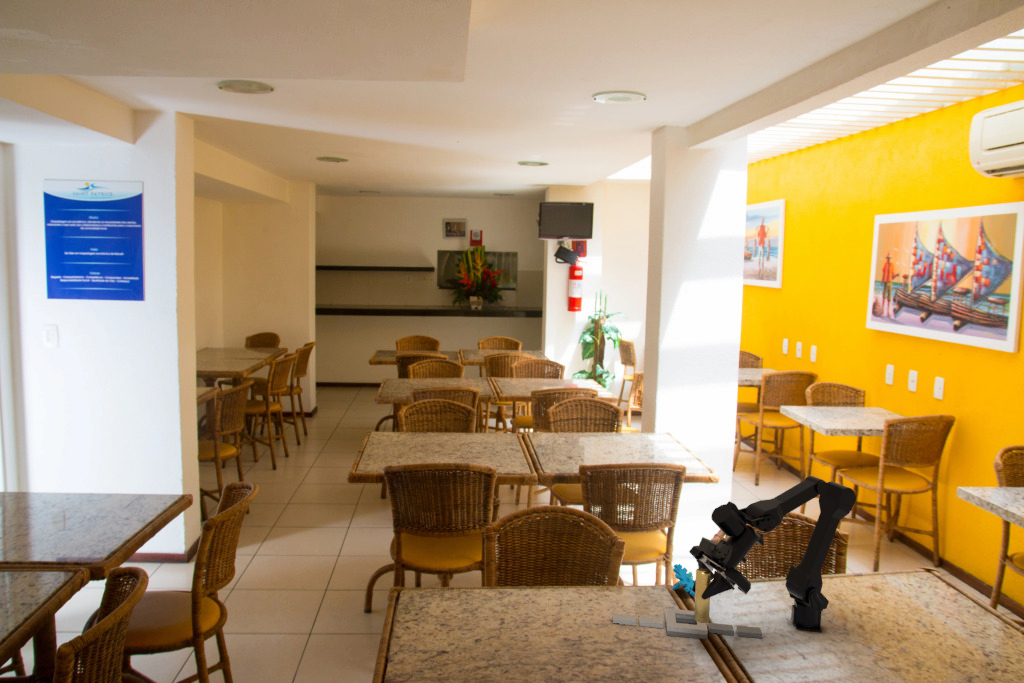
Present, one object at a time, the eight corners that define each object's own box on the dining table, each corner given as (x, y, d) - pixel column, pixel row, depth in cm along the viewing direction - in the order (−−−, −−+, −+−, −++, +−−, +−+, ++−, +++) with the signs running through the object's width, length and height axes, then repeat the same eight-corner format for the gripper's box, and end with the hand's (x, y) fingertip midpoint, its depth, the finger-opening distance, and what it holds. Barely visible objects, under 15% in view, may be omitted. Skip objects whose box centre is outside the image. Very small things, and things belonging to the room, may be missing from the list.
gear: (694, 597, 199) (672, 566, 202) (679, 608, 201) (657, 577, 204) (705, 587, 208) (683, 558, 212) (690, 598, 210) (669, 569, 214)
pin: (708, 616, 176) (710, 569, 175) (709, 623, 173) (711, 575, 172) (693, 615, 177) (695, 567, 176) (694, 622, 174) (696, 573, 172)
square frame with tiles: (757, 625, 186) (758, 617, 186) (764, 645, 176) (765, 636, 176) (613, 611, 193) (613, 603, 192) (612, 629, 183) (612, 620, 183)
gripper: (696, 514, 183) (658, 561, 180) (743, 540, 165) (701, 592, 163) (720, 540, 186) (683, 586, 184) (768, 568, 169) (728, 619, 166)
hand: (697, 594), depth 174 cm, fingers closed on pin, 4 cm apart
